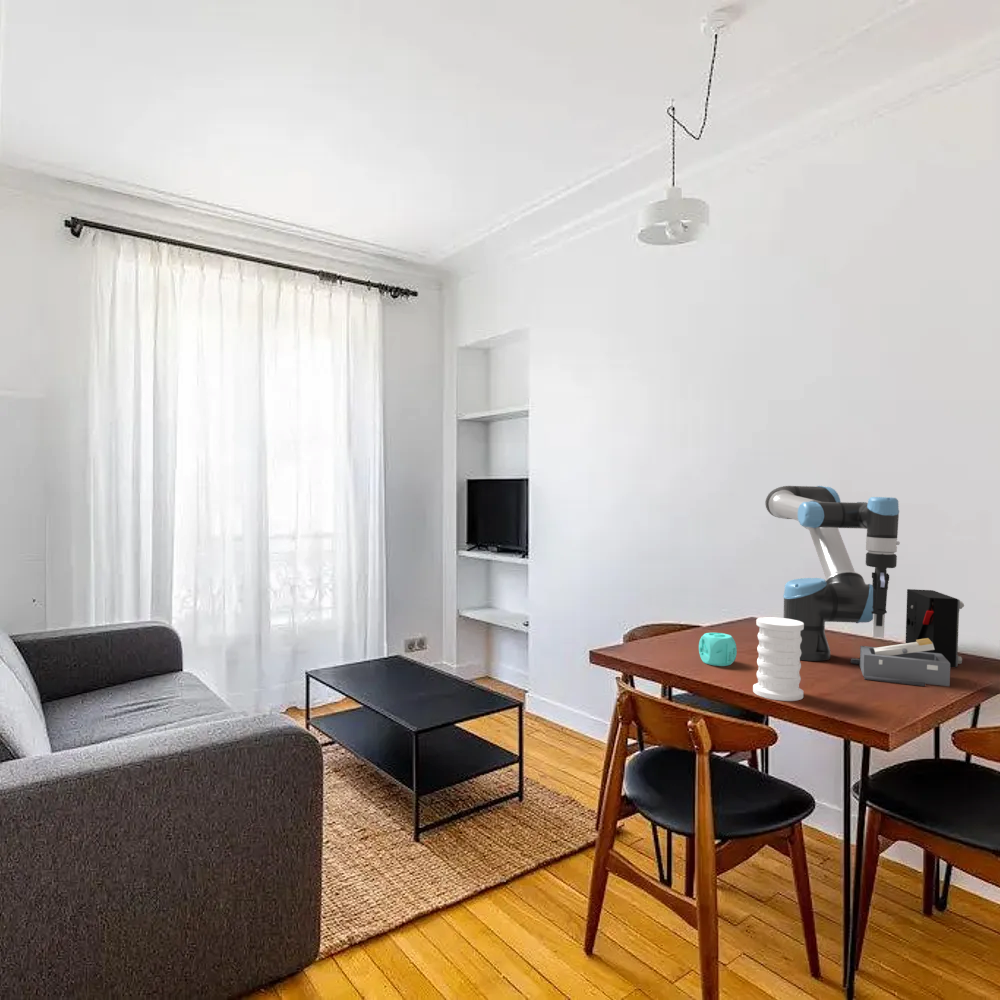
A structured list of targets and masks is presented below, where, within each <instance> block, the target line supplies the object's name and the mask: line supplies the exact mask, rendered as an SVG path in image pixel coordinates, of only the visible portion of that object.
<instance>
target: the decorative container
mask: <svg viewBox="0 0 1000 1000" xmlns="http://www.w3.org/2000/svg"><path fill="white" fill-rule="evenodd" d="M755 621H756V624H755V625H756V626H757V627H758V628H759V630H758V632H757V640H758V645H757V647H756V648H757V649H756V650H757V653H758V657H757V660H756V664H757V666H758V667H757V669H758V670H756V678H757V682H756V683H754V684H753V685H752V692H753V693H754V694H755V695H757V696H758V697H761V698H764V699H768V700H773V701H780V702H781V701H783V702H795V701H799V700H800V701H801V700H802V699H803V698H804V690H803V689H802V688H800V683H801V680H802V678H801V675H800V670H801V668H802V663H801V660H800V657H801V649H800V644H801V642H802V638H801V636H800V632H801V630H803V629H804V623H803V622H801V621H798V620H793V619H787V618H784V617H775V616H774V617H772V616H771V617H770V616H769V617H758V618H756V620H755Z"/></svg>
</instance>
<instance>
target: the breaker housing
mask: <svg viewBox="0 0 1000 1000" xmlns="http://www.w3.org/2000/svg"><path fill="white" fill-rule="evenodd" d="M874 648H877V646H876V647H875V646H866V645H860V648H859V649H860V650H859V651H860V653H859V659H860V664H859V668H860V670H861V671H860V672H861V673H862V676H863V678H864V676H872V677H881V678H890V679H899V680H908V681H916V682H925V685H926V684H927V685H934V686H942V687H950V683H951V682H950V681H951V667H950V663H949V661H948V660H947V659H946V658H945V657H944V656H943V655H942V654H940V653H929V652H914V653H906V654H899V655H892V656H886V655H876V654H875V651H874Z"/></svg>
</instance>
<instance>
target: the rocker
mask: <svg viewBox="0 0 1000 1000" xmlns="http://www.w3.org/2000/svg"><path fill="white" fill-rule="evenodd" d="M916 641H917V642H912V643H906V642H905V643H900V644H899V643H898V644H893V645H892V644H891V645H885V646H879V647H877V646H876V647H877V648H874V651H875V654H876V655H886V656H892V655H899V654H906V653H914V652H921V651H928V650H935V649H934V645H933V643H932V642H931V640H930V639H929V638H925V639H918V640H916Z"/></svg>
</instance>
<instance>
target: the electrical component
mask: <svg viewBox="0 0 1000 1000" xmlns="http://www.w3.org/2000/svg"><path fill="white" fill-rule="evenodd" d="M906 590H907V591H906V617H905V643H912V642H917V641H916V640H918V639H925V638H929V639H930V640H931V642H932V643H933V645H934V649H935V650H928V651H921V652H929V653H940V654H942V655H943V656H944V657H945V658H946V659H947V660H948V661H949V663H950V668H952V667H956V668H958V667H959V666H958V664H962V662H963V658H962V656H960V655H959V653H958V651H959V650H958V649H959V627H960V625H959V621H960V619H959V618H960V610H961V609H963V608H964V606H965V605H964V603H963V601H961V600H960V599H959V598H956V597H953V596H950V595H948V594H945V593H942V592H938V591H937V590H931V589H916V588H915V589H913V588H912V589H911V588H910V589H909V588H908V589H906Z"/></svg>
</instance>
